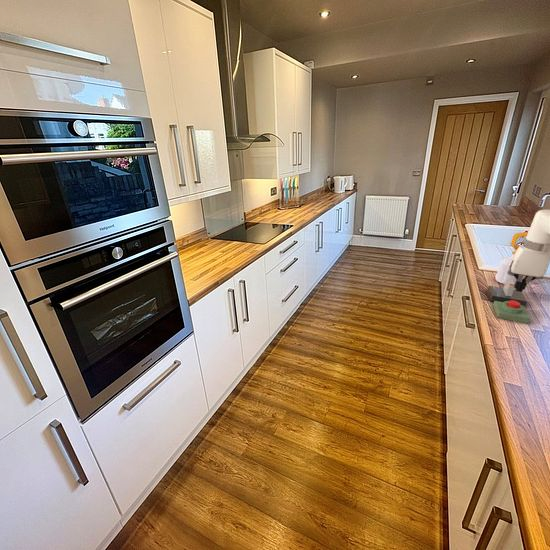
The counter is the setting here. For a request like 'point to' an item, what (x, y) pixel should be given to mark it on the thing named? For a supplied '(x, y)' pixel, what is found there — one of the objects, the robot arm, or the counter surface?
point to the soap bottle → (508, 262)
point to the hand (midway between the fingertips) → (518, 290)
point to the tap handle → (509, 287)
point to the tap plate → (500, 296)
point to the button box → (511, 312)
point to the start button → (513, 304)
